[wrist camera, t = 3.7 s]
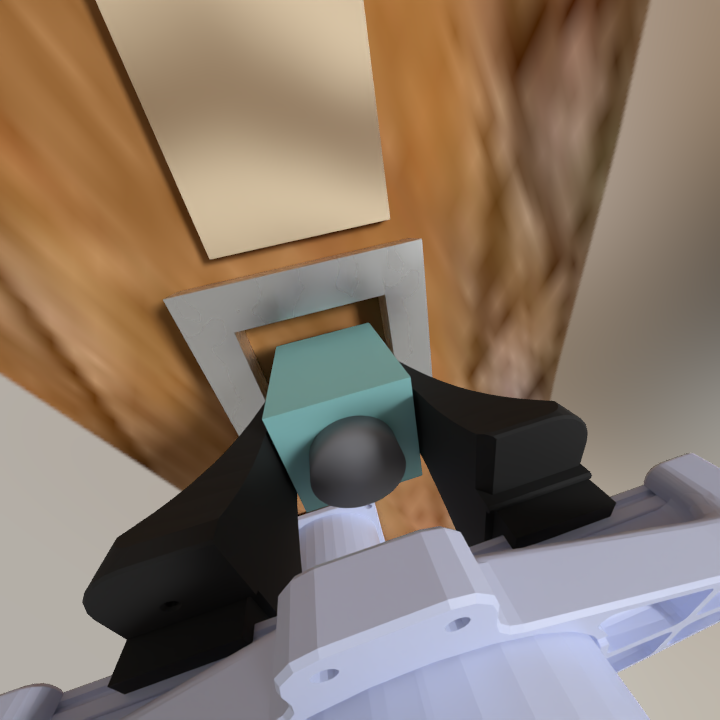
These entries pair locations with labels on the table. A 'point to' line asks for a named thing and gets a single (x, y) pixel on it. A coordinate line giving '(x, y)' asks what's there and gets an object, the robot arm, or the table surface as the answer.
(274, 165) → the cork coaster
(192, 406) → the table surface
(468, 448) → the robot arm
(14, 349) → the table surface
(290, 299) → the block
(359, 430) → the teal cube with dome
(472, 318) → the table surface
